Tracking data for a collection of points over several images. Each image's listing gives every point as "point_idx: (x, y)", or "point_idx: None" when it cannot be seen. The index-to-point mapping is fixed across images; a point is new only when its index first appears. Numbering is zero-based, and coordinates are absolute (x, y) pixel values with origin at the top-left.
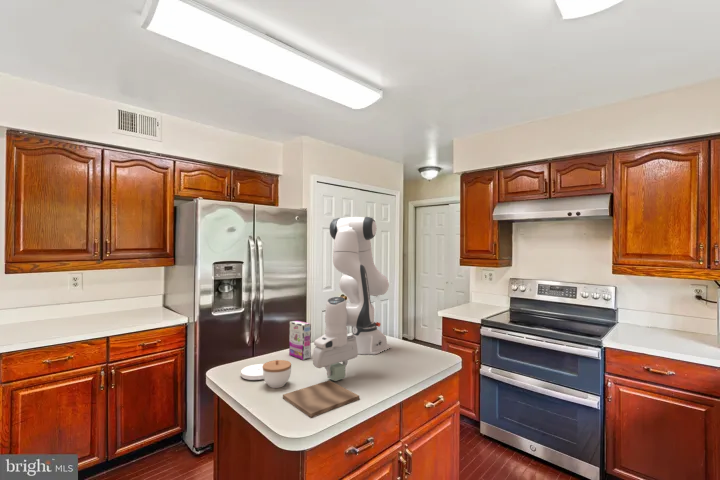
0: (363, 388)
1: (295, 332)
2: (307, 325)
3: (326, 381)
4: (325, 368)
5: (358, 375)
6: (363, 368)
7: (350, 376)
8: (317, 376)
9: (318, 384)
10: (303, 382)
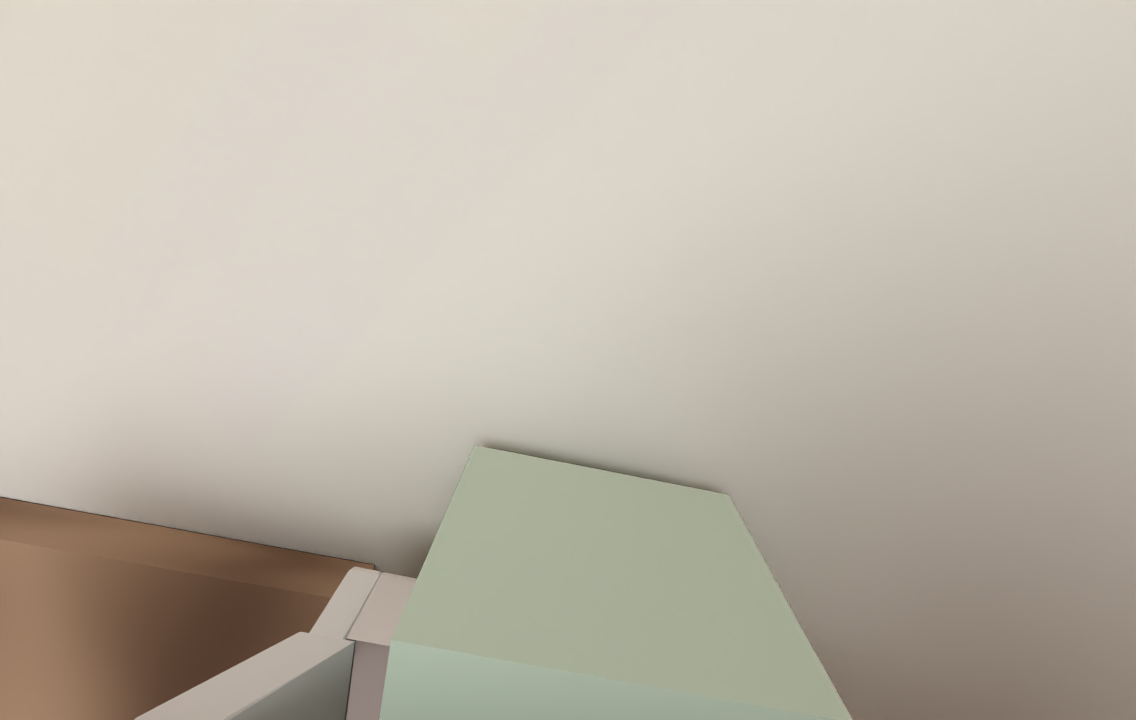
0: None
1: None
2: None
3: (277, 600)
4: (203, 695)
5: (958, 711)
6: None
7: (847, 643)
8: (462, 147)
9: (73, 582)
10: (32, 148)
